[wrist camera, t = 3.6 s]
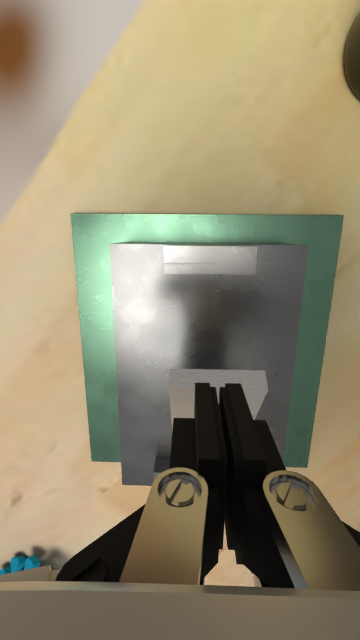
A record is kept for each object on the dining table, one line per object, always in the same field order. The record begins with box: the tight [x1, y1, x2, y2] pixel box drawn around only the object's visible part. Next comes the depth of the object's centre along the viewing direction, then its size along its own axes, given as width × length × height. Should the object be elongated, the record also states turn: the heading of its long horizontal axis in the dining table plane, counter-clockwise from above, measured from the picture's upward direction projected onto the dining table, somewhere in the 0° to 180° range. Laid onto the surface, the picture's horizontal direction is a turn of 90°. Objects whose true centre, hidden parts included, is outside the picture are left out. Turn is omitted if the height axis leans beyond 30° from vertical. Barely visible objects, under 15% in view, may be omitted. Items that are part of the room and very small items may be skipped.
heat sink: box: [71, 214, 344, 486], centre depth 22 cm, size 20×22×8 cm
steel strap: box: [168, 369, 268, 430], centre depth 17 cm, size 4×14×1 cm
